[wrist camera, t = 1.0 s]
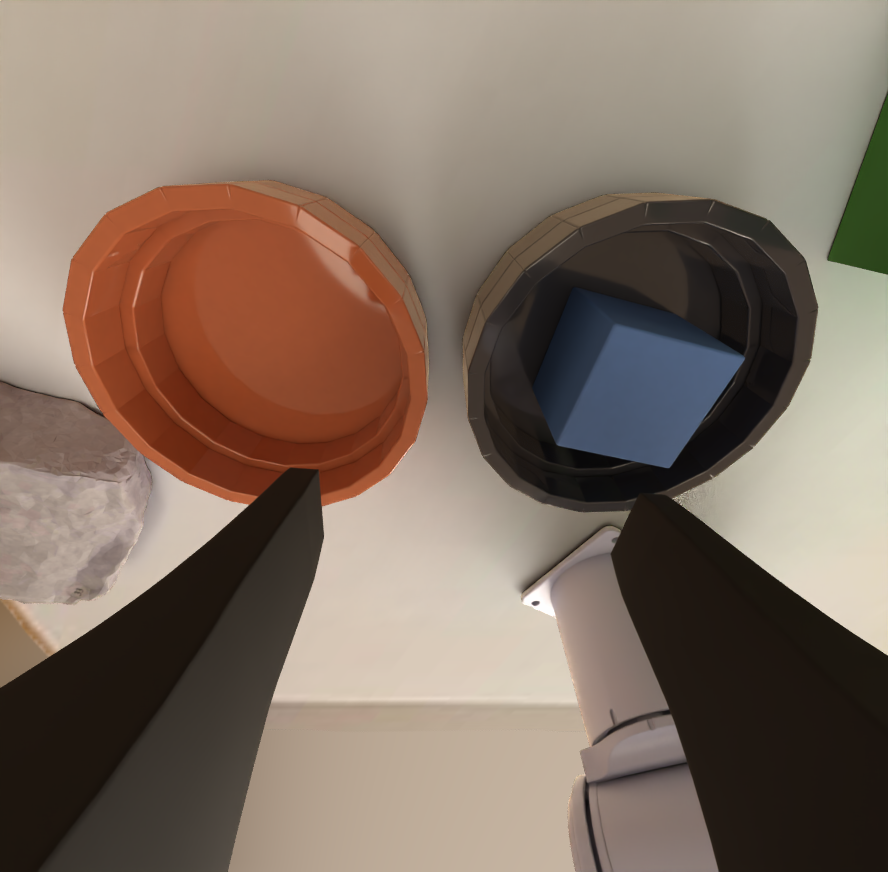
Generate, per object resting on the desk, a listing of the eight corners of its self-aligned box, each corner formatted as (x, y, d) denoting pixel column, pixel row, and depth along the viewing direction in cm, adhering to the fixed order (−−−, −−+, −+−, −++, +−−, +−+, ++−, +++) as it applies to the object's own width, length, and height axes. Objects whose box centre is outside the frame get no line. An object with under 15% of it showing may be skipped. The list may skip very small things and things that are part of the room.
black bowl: (798, 311, 17) (886, 346, 14) (594, 490, 22) (622, 548, 19) (598, 111, 13) (653, 92, 10) (411, 382, 18) (405, 430, 15)
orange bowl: (483, 303, 17) (495, 338, 13) (351, 487, 22) (336, 546, 18) (189, 96, 13) (102, 71, 10) (115, 377, 18) (42, 424, 15)
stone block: (176, 409, 21) (-105, 343, 17) (141, 477, 17) (-228, 414, 13) (156, 547, 27) (-53, 523, 23) (127, 617, 23) (-127, 605, 19)
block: (676, 313, 16) (748, 357, 13) (623, 409, 19) (670, 469, 15) (572, 285, 16) (615, 323, 12) (531, 388, 18) (555, 446, 14)
